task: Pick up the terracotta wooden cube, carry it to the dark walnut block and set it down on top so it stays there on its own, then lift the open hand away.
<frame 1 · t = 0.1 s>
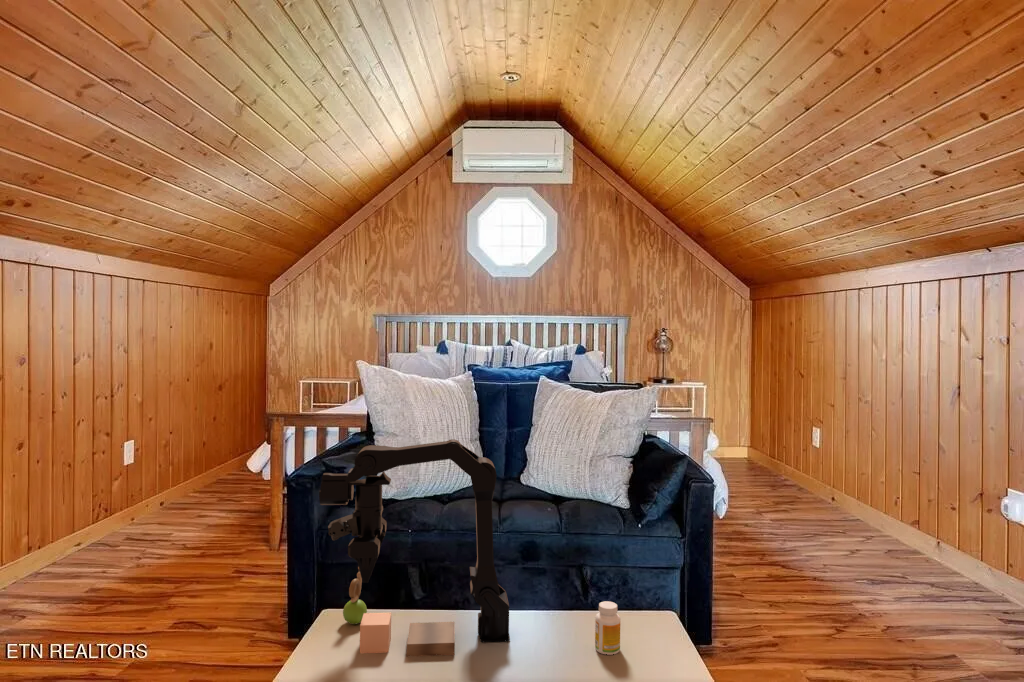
hand: (368, 574, 142), 14 cm above the table, tool pointing down, fingers open, 9 cm apart
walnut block: (431, 646, 141), on the table
snail figurine: (355, 622, 151), on the table
supplement bottle: (607, 650, 139), on the table
terracotta cube: (375, 646, 139), on the table
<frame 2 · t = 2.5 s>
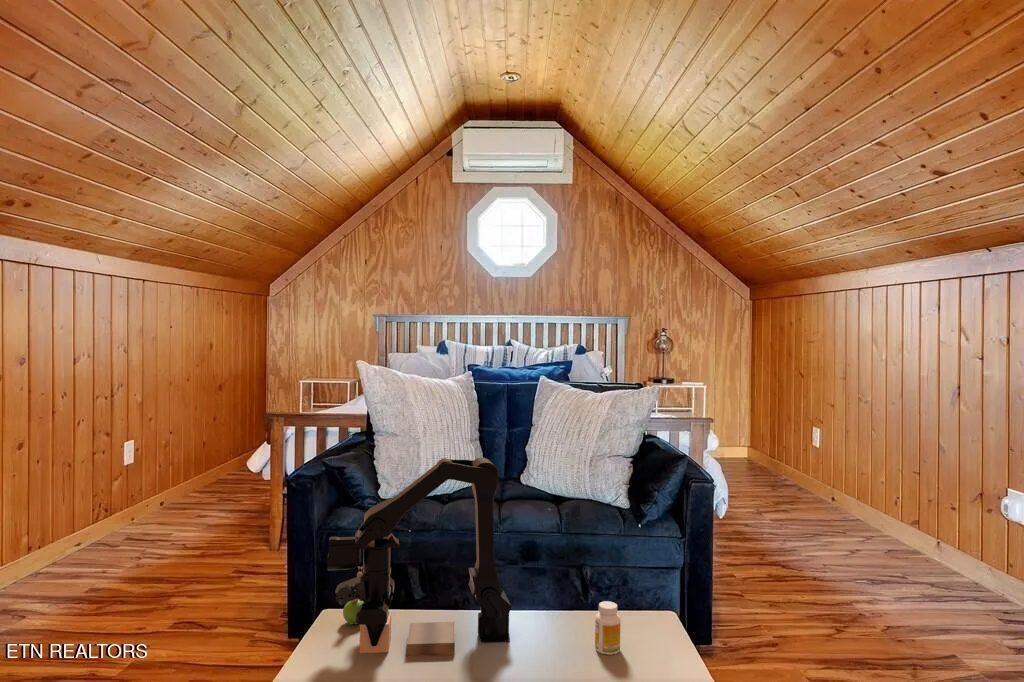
hand: (375, 638, 139), 2 cm above the table, tool pointing down, fingers closed on terracotta cube, 6 cm apart
terracotta cube: (375, 645, 139), on the table, touching gripper
everything else where it was.
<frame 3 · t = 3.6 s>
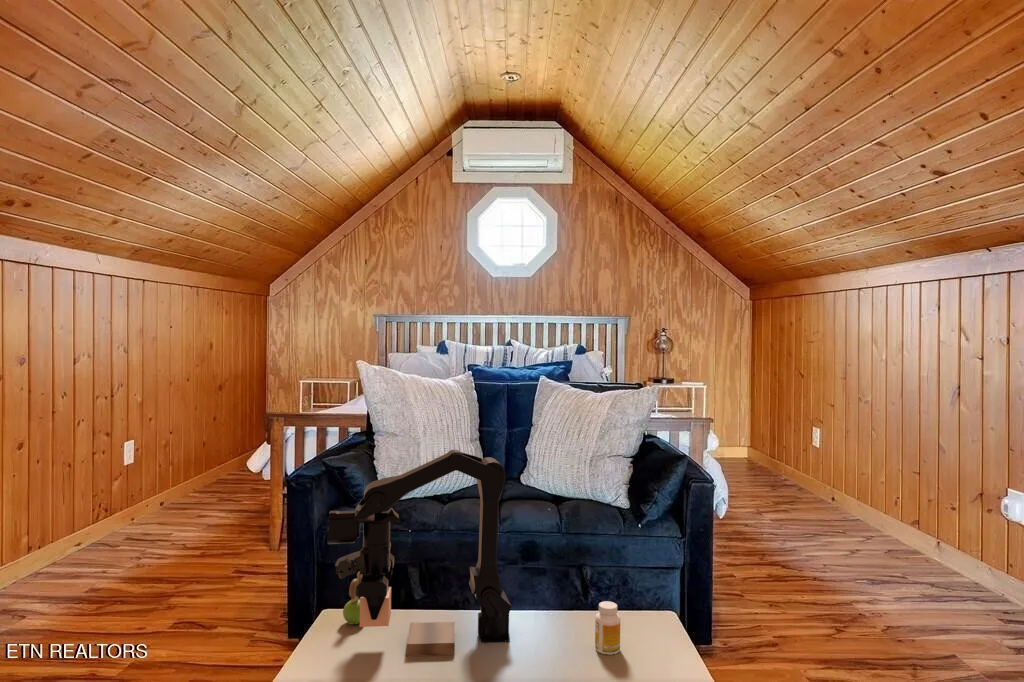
hand: (375, 612, 139), 7 cm above the table, tool pointing down, fingers closed on terracotta cube, 6 cm apart
terracotta cube: (375, 620, 139), point 6 cm above the table, touching gripper
everything else where it was.
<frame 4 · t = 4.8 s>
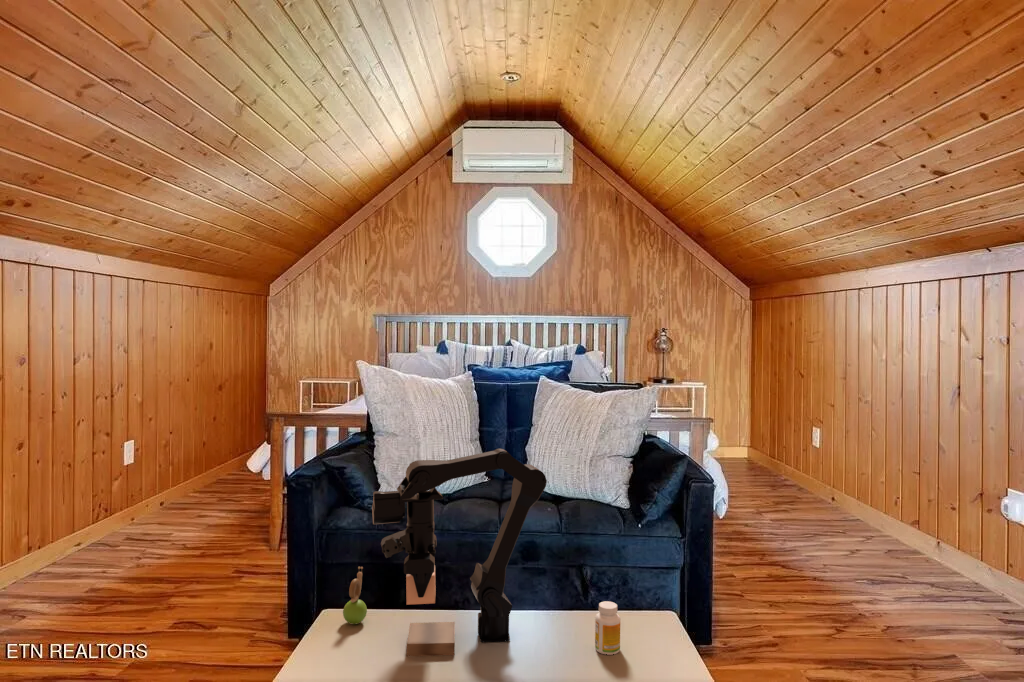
hand: (421, 591, 140), 12 cm above the table, tool pointing down, fingers closed on terracotta cube, 6 cm apart
terracotta cube: (421, 598, 140), point 10 cm above the table, touching gripper
everything else where it was.
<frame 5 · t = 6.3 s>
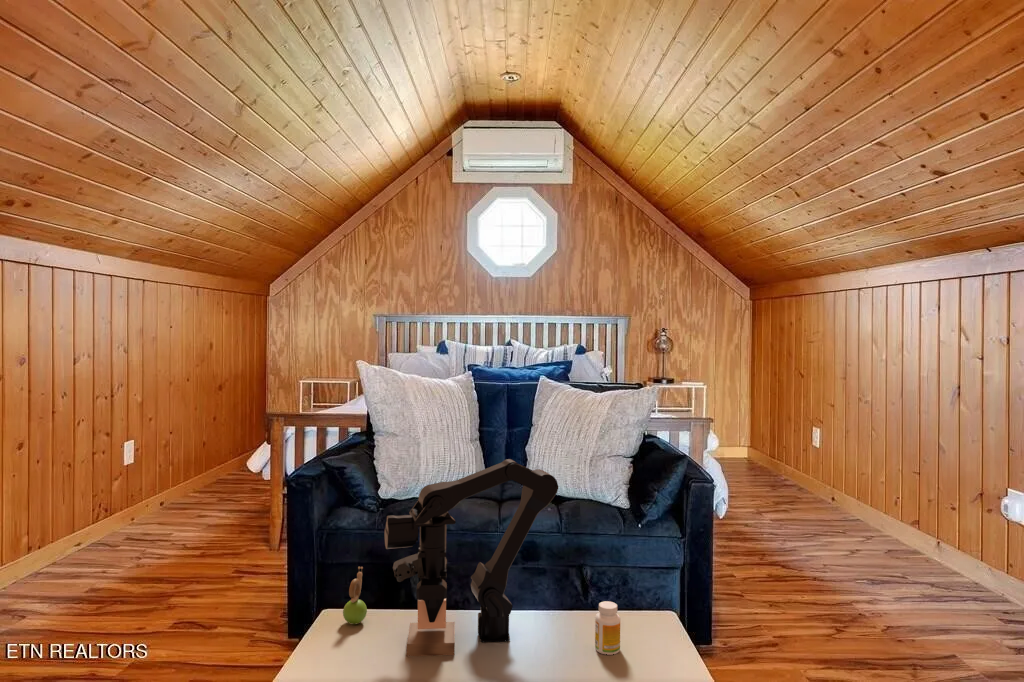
hand: (432, 615, 141), 6 cm above the table, tool pointing down, fingers closed on terracotta cube, 6 cm apart
terracotta cube: (432, 622, 141), point 5 cm above the table, touching gripper
everything else where it was.
when the fingers open (5 cm above the table, at t = 7.4 s): terracotta cube drops 1 cm, resting on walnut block.
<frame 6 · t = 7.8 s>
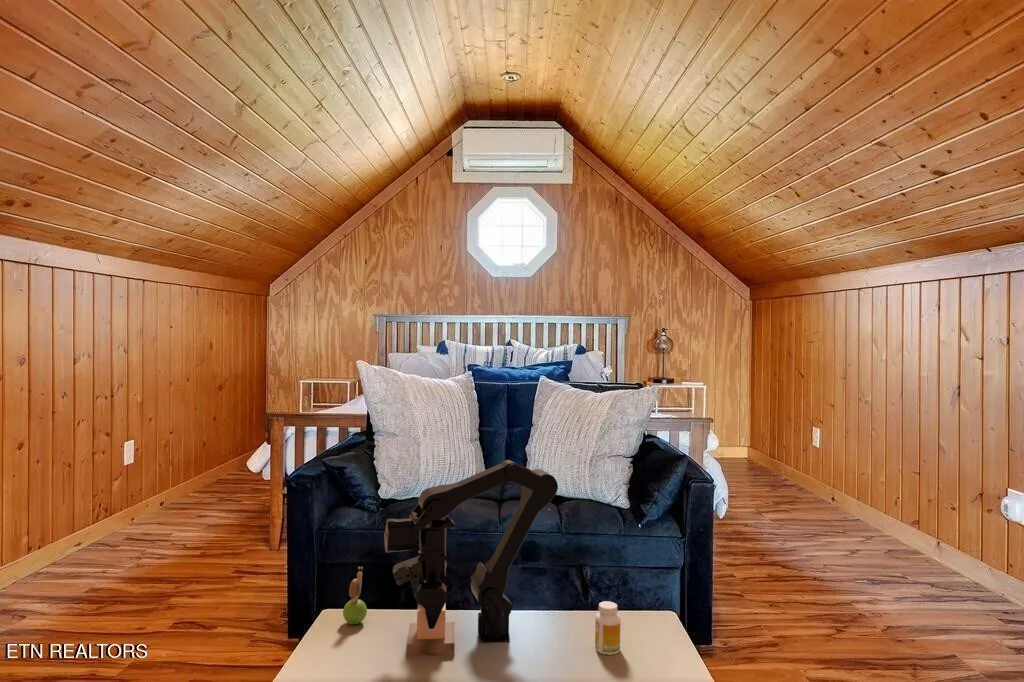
hand: (431, 618, 141), 5 cm above the table, tool pointing down, fingers open, 9 cm apart
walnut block: (431, 646, 141), on the table, touching terracotta cube
terracotta cube: (431, 632, 141), point 2 cm above the table, touching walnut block
everything else where it was.
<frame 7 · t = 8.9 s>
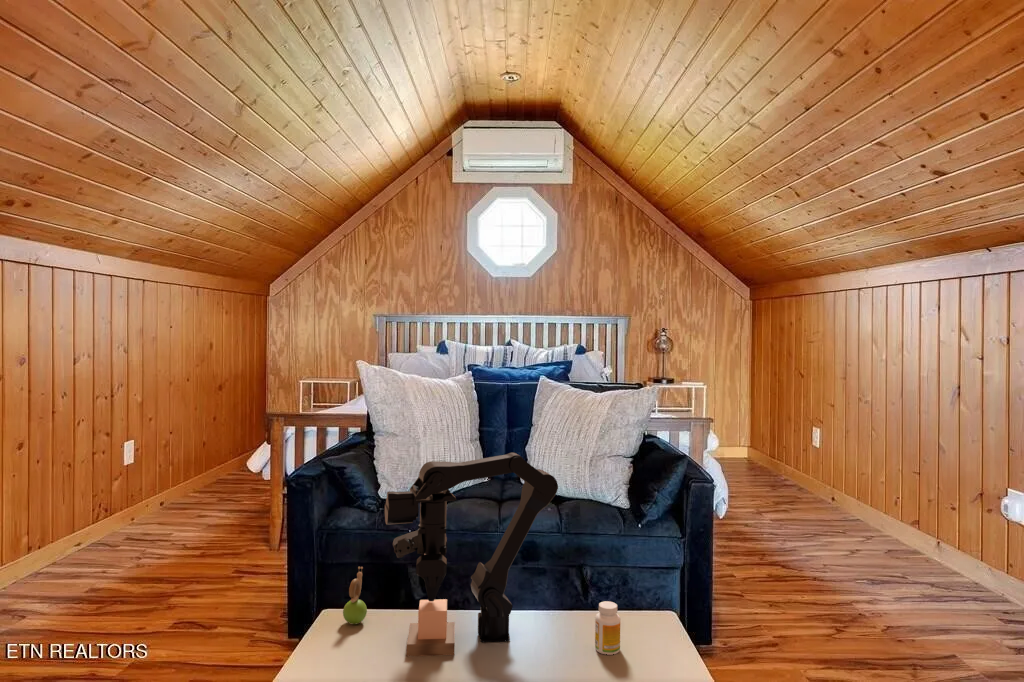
hand: (431, 592, 140), 11 cm above the table, tool pointing down, fingers open, 9 cm apart
nothing on the table moved.
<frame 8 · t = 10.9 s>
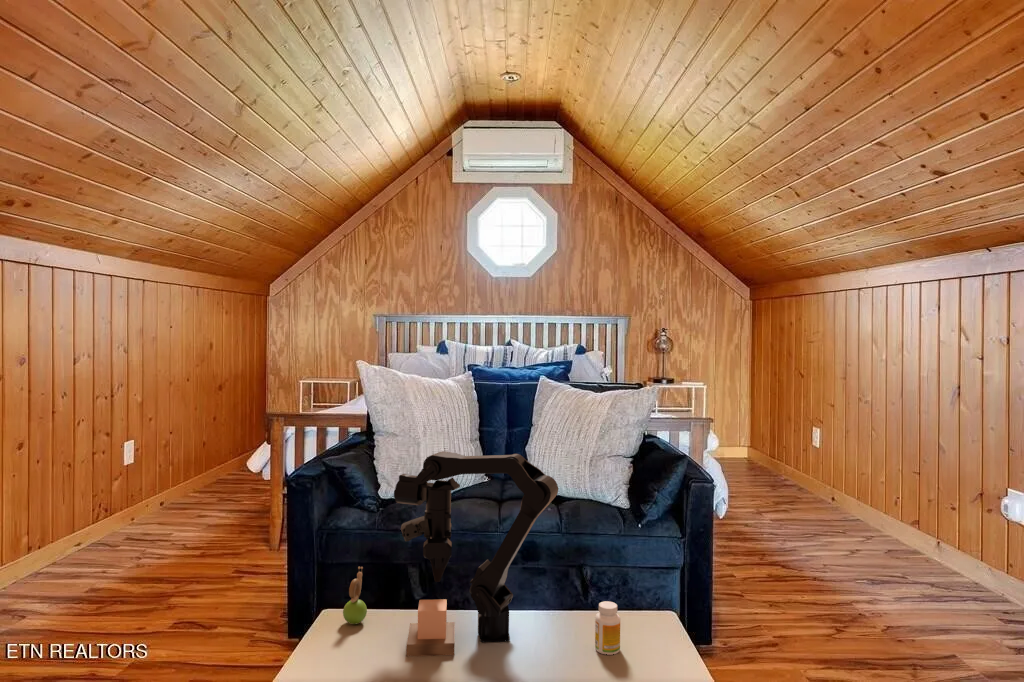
hand: (437, 574, 150), 12 cm above the table, tool pointing down, fingers open, 9 cm apart
nothing on the table moved.
at the end: terracotta cube 0.2 cm off-centre on the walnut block, point 3.0 cm above the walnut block's base; terracotta cube tilted 0°; the gripper is holding nothing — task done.
